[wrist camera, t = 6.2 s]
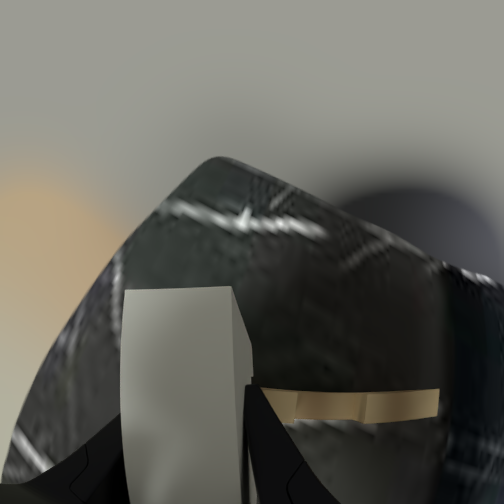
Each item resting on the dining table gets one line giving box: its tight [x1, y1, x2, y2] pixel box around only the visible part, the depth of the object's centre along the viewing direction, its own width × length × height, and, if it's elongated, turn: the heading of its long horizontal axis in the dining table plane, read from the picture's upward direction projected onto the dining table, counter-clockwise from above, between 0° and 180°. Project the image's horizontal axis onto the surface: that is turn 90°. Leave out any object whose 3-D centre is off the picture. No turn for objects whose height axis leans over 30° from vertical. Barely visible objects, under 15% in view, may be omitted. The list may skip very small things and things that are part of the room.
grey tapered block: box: [120, 286, 257, 504], centre depth 9 cm, size 8×2×10 cm, turn 3°
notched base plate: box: [261, 388, 439, 424], centre depth 17 cm, size 16×2×5 cm, turn 83°
